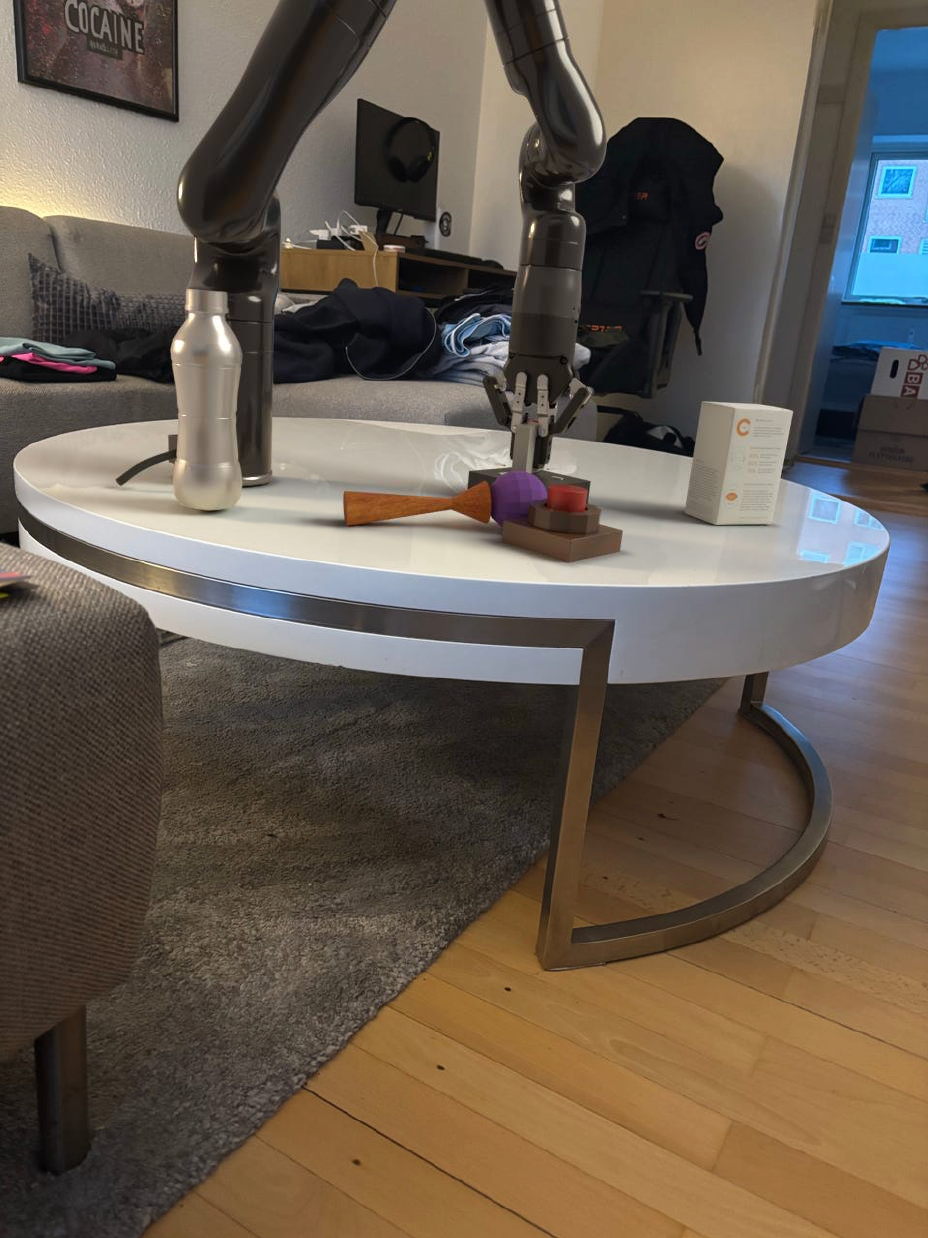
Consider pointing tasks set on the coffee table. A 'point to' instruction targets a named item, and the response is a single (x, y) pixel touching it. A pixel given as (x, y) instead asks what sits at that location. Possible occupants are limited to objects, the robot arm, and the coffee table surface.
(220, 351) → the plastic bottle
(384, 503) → the kendama
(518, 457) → the beige square slab
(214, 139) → the robot arm
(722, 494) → the small box
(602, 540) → the block
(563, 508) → the button
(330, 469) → the coffee table surface
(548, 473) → the hob panel
